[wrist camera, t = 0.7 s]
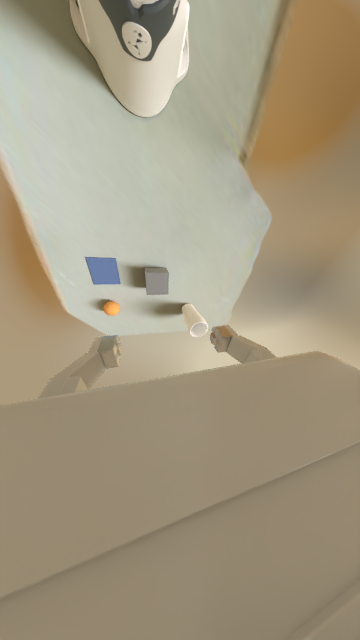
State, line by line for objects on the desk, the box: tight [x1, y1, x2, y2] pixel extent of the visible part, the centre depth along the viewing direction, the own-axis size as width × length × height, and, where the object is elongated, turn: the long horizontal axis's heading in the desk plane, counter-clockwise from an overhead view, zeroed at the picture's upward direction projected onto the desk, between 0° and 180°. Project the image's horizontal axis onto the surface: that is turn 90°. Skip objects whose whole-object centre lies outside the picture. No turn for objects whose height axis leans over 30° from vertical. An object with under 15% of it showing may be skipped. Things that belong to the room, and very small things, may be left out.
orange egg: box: [104, 301, 119, 316], centre depth 45 cm, size 5×5×5 cm
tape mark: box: [86, 257, 120, 284], centre depth 40 cm, size 8×8×1 cm
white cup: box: [182, 303, 208, 337], centre depth 50 cm, size 7×7×15 cm
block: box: [145, 268, 169, 295], centre depth 43 cm, size 7×7×6 cm
